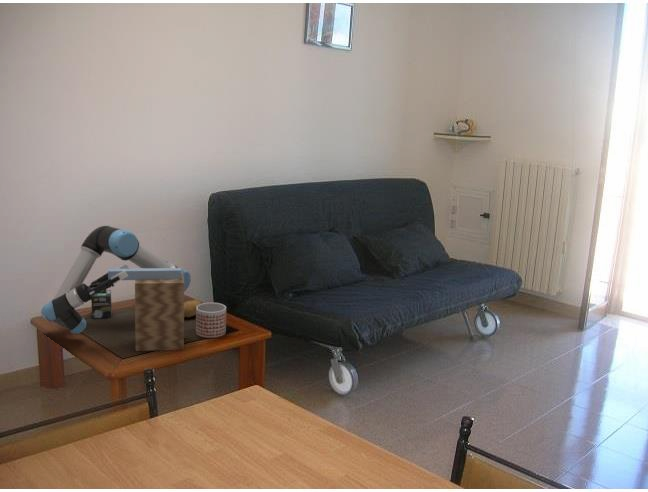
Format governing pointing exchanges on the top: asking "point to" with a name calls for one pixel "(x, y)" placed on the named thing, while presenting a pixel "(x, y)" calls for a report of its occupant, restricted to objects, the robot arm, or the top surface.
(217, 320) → the planter
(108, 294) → the chalk box
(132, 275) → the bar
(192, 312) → the potato
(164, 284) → the stand
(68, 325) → the robot arm
